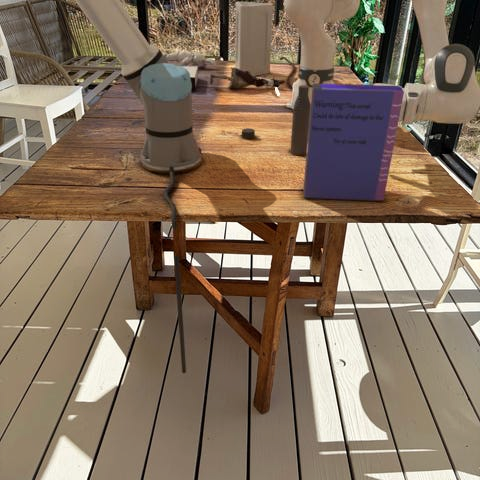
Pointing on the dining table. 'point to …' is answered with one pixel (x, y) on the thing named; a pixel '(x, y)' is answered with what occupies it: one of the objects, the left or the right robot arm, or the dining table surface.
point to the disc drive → (193, 75)
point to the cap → (248, 133)
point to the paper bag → (253, 37)
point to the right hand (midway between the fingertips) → (353, 97)
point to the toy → (188, 58)
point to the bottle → (300, 122)
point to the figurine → (246, 79)
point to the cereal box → (351, 141)
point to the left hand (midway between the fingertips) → (250, 24)
